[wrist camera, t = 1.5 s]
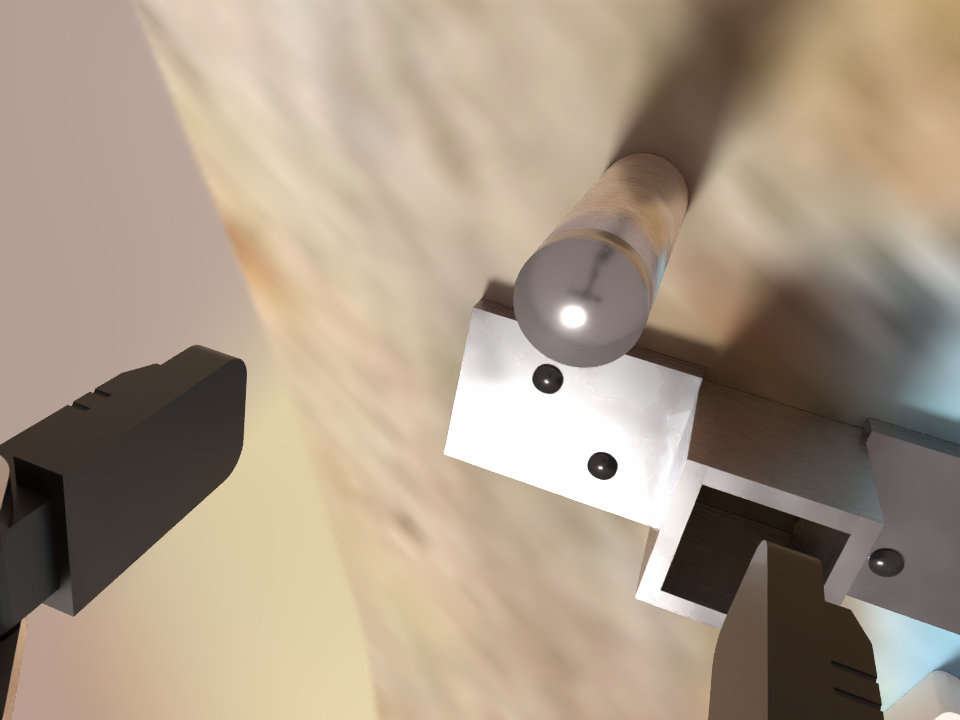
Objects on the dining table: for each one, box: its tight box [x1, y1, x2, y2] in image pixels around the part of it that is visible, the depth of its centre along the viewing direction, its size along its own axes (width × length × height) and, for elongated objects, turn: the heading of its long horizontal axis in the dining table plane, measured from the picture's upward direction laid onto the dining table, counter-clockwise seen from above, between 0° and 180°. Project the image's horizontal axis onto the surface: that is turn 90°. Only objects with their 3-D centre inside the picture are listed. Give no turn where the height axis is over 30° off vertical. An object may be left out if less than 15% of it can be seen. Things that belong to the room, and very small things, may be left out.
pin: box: [513, 153, 688, 368], centre depth 23 cm, size 3×3×11 cm
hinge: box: [444, 299, 960, 635], centre depth 28 cm, size 7×24×6 cm, turn 79°
